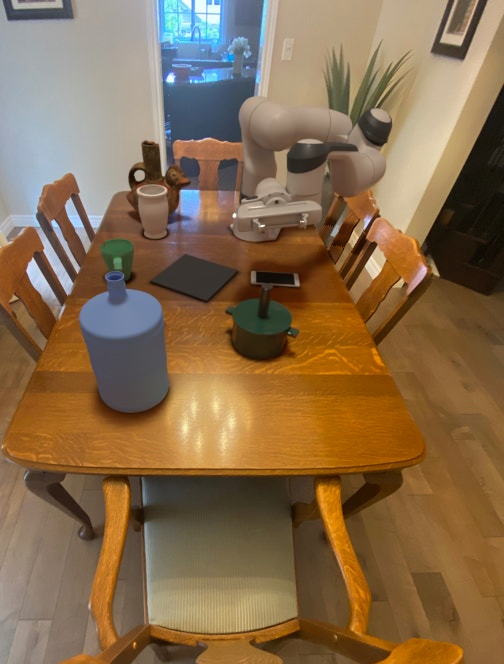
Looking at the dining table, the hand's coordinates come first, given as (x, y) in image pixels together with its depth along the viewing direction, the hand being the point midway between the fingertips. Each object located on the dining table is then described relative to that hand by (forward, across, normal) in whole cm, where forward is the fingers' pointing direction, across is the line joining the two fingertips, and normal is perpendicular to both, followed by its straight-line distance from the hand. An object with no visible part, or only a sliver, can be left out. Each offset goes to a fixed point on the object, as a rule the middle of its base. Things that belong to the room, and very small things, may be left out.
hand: (282, 227), depth 84 cm
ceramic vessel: (-65, +38, -14) cm, 77 cm away
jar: (-51, +38, -16) cm, 65 cm away
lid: (+10, +6, -17) cm, 21 cm away
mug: (-18, +46, -17) cm, 52 cm away
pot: (+9, +7, -25) cm, 27 cm away
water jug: (+27, +36, -22) cm, 50 cm away
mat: (-21, +23, -20) cm, 37 cm away
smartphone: (-21, -2, -23) cm, 31 cm away
